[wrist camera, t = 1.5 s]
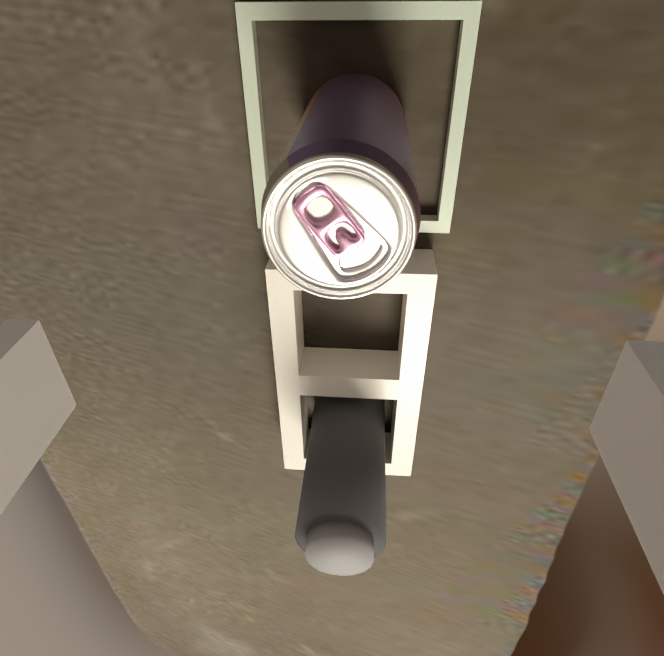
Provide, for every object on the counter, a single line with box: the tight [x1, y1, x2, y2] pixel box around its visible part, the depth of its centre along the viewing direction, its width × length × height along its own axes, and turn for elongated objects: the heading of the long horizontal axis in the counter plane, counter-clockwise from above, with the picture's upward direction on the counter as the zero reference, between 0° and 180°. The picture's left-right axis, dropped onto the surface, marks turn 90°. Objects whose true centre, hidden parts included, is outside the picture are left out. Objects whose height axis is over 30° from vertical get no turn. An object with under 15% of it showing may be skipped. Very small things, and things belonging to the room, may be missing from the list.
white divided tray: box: [265, 249, 437, 476], centre depth 39 cm, size 20×11×4 cm, turn 0°
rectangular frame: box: [235, 0, 482, 233], centre depth 29 cm, size 13×13×1 cm
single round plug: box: [295, 396, 386, 575], centre depth 37 cm, size 6×6×14 cm
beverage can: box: [261, 73, 421, 299], centre depth 24 cm, size 6×6×15 cm
